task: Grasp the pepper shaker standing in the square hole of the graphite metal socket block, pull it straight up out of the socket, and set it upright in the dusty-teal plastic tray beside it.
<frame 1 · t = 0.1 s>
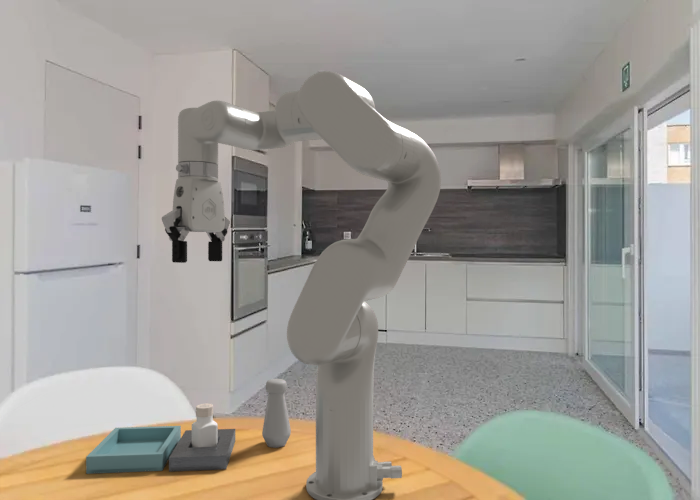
hand: (198, 261, 103), 37 cm above the table, tool pointing down, fingers open, 9 cm apart
tray: (137, 455, 101), on the table
pepper shaker: (204, 456, 102), resting in socket block
salt shaker: (276, 444, 108), on the table
socket block: (204, 455, 102), on the table
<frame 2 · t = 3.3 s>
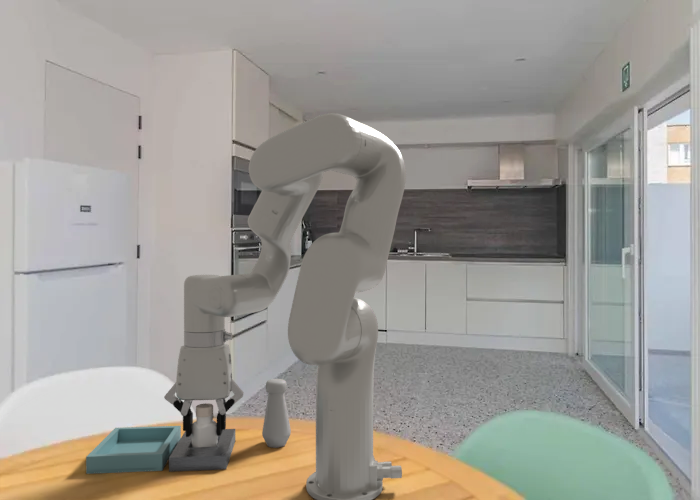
hand: (204, 432, 102), 4 cm above the table, tool pointing down, fingers closed on pepper shaker, 5 cm apart
pepper shaker: (204, 456, 102), resting in socket block, touching gripper
everything else where it was.
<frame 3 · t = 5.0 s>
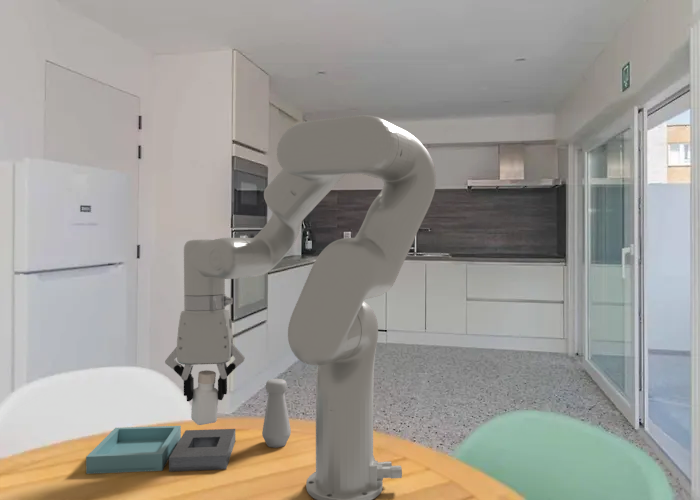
hand: (205, 397, 102), 11 cm above the table, tool pointing down, fingers closed on pepper shaker, 5 cm apart
pepper shaker: (203, 422, 102), point 6 cm above the table, touching gripper
everything else where it was.
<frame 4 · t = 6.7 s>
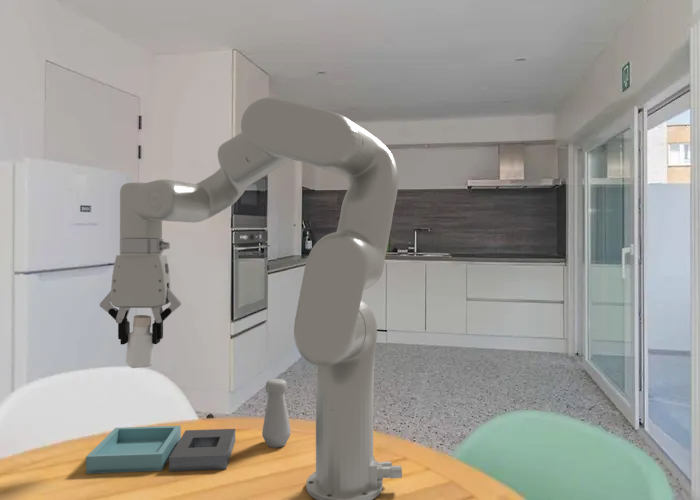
hand: (140, 342, 101), 22 cm above the table, tool pointing down, fingers closed on pepper shaker, 5 cm apart
pepper shaker: (138, 366, 102), point 17 cm above the table, touching gripper
everything else where it was.
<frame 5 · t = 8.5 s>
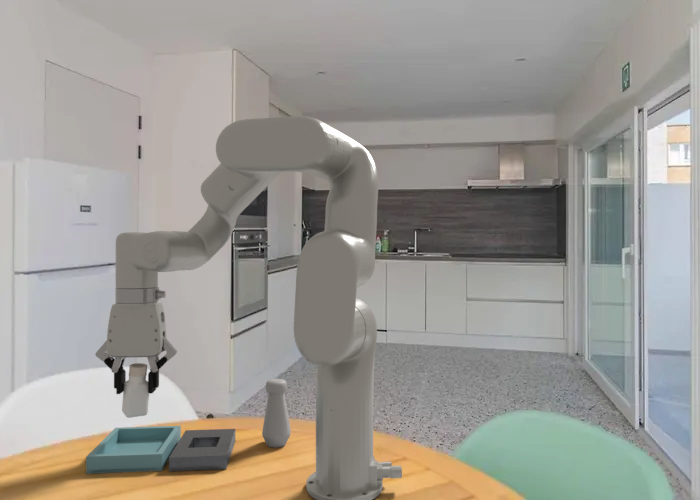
hand: (136, 390, 101), 12 cm above the table, tool pointing down, fingers closed on pepper shaker, 5 cm apart
pepper shaker: (134, 415, 102), point 8 cm above the table, touching gripper
everything else where it was.
when the fingers open (6 cm above the table, at t = 10.1 s): pepper shaker moves 1 cm, resting on tray.
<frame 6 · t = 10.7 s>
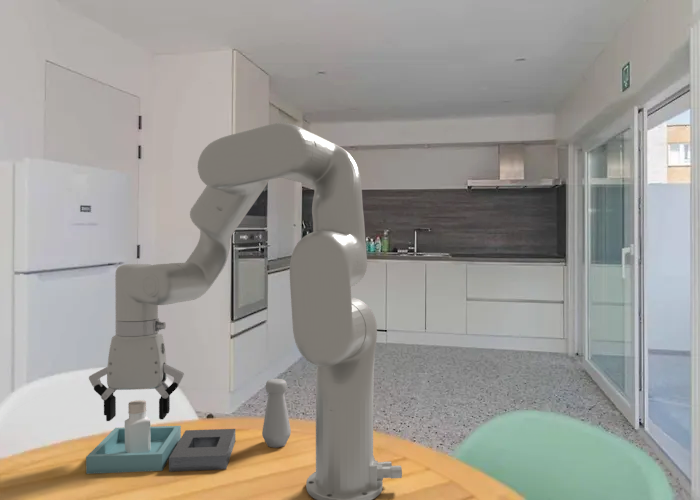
hand: (137, 418, 101), 7 cm above the table, tool pointing down, fingers open, 9 cm apart
pepper shaker: (137, 452, 102), resting on tray
everything else where it was.
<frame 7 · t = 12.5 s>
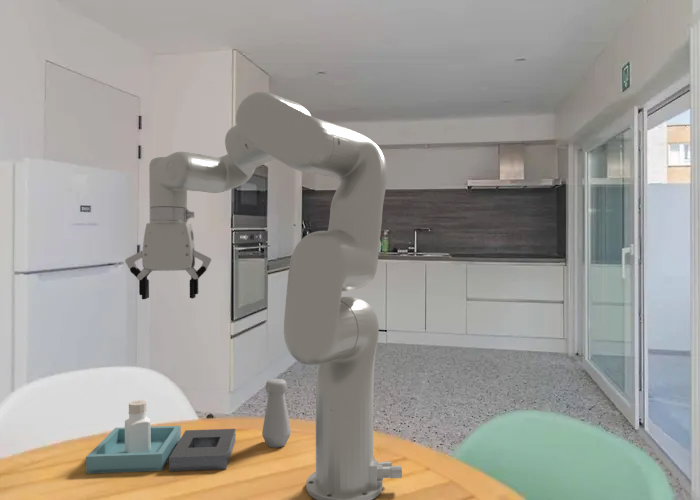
hand: (169, 298, 112), 29 cm above the table, tool pointing down, fingers open, 9 cm apart
nothing on the table moved.
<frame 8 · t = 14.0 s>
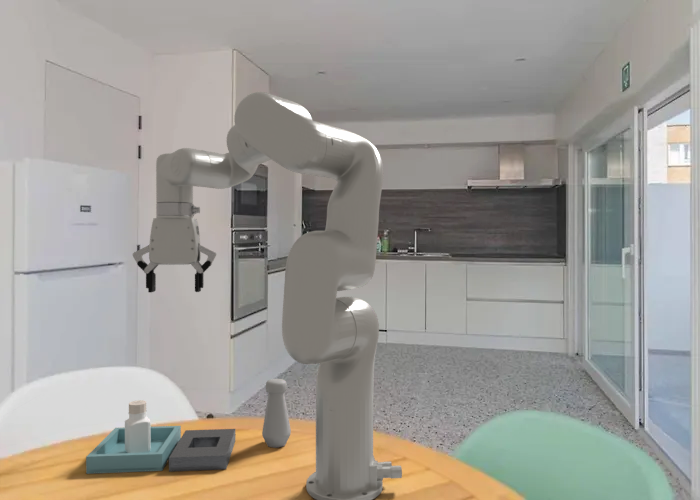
hand: (175, 291, 114), 30 cm above the table, tool pointing down, fingers open, 9 cm apart
nothing on the table moved.
at the end: pepper shaker inside the target area on the tray (0.2 cm from its centre), point 0.4 cm above the tray's base; pepper shaker tilted 0°; the gripper is holding nothing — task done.
